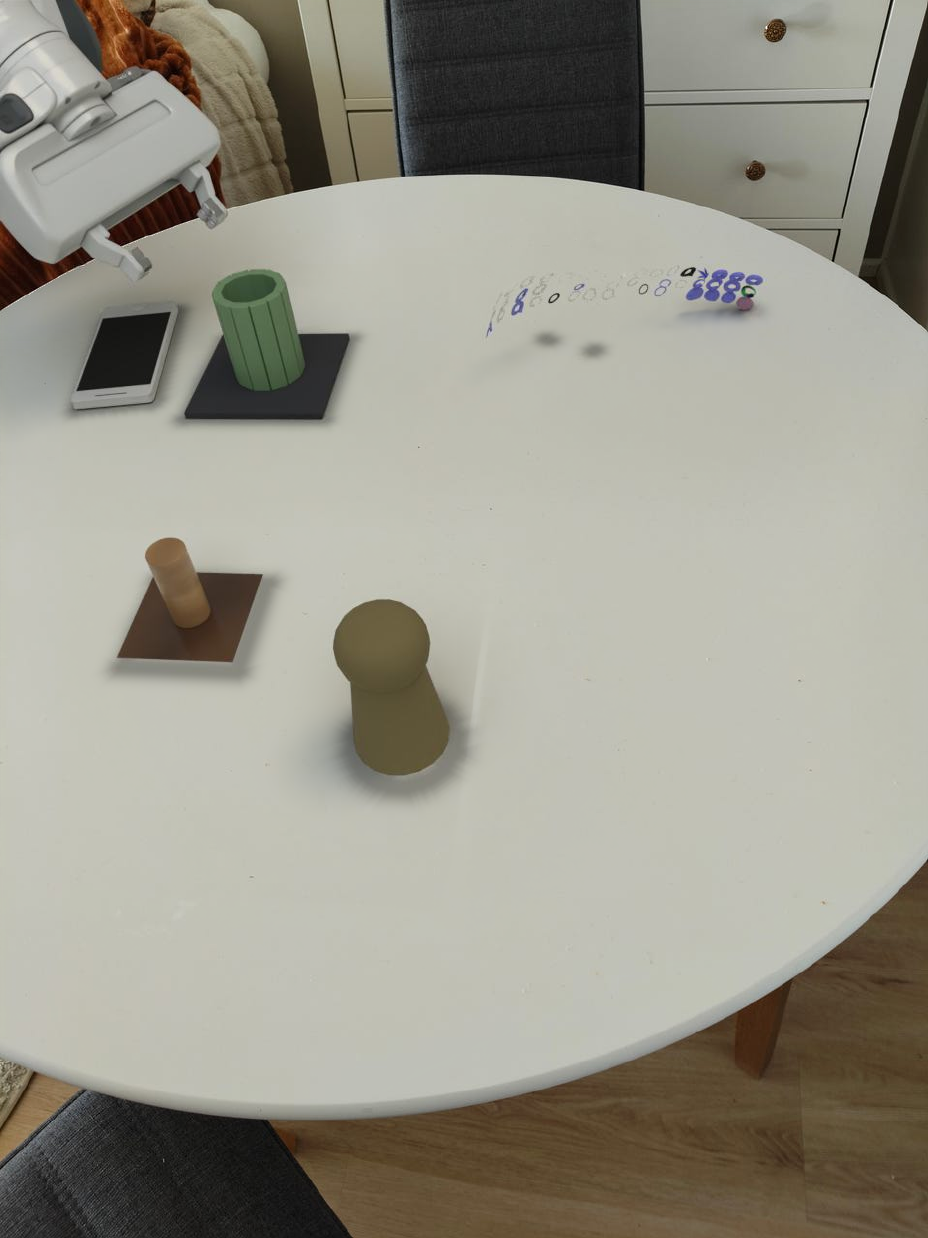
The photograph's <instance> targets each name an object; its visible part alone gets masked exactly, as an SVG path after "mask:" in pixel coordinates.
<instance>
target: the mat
mask: <svg viewBox="0 0 928 1238" xmlns="http://www.w3.org/2000/svg"><path fill="white" fill-rule="evenodd" d="M298 336H299V340H300V344H301V348H302V353H303V357H304V361H305V368H304V370H303V373H302V375H300V377H299V378H298V379H296V380H295V381H294V382H292V383H291V384H288V386H285V387H282V388H278V389H275V390H272V389H271V390H270V391H254V390H251V389H248V388H246V387H244V386H242V385H240V384H239V382H238V380H237V378H236V375H235V372H234V368H233V365H232V362H231V358H230V355H229V352H228V348H227V345H226V342H225V338H224V335H223V334H222V335H221V337H220V339H219V341H218V343H217V346H216V348H215V349H214V351H213V353H212V355H211V358H210V360H209V362H208V364H207V366H206V367H205V370H204V372H203V373H202V376H201V378H200V380H199V382H198V384H197V386H196V388H195V390H194V392H193V394H192V396H191V398H190V399H189V403H188V404H187V405H186V407H185V409H184V412H183V414H184V417H185V419H222V420H223V419H224V420H225V419H227V420H228V419H231V420H232V419H233V420H234V419H235V420H236V419H239V420H241V419H242V420H243V419H244V420H245V419H246V420H249V419H252V420H253V419H254V420H255V419H256V420H257V419H258V420H261V419H262V420H272V419H273V420H322V419H323V418H324V415H325V412H326V409H327V406H328V403H329V400H330V397H331V395H332V391H333V388H334V385H335V382H336V380H337V377H338V374H339V371H340V369H341V366H342V362H343V359H344V357H345V353H346V351H347V348H348V345H349V342H350V333H347V332H346V333H343V332H342V333H298Z"/></svg>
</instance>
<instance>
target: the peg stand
mask: <svg viewBox="0 0 928 1238" xmlns="http://www.w3.org/2000/svg"><path fill="white" fill-rule="evenodd" d="M144 559H145V561H146V564H147V566H148V568H149V570H150V573H151V575H152V578H151V580H150V583H149V585H148V586H147V589H146V591H145V593H144V595H143V598H142V600H141V602H140V605H139V606H138V609H137V611H136V613H135V616H134V618H133V620H132V622H131V624H130V627H129V629H128V631H127V633H126V636H125V638H124V640H123V642H122V645H121V647H120V649H119V651H118V653H117V656H116V658H117V659H136V660H164V661H167V660H168V661H185V662H188V661H190V662H211V663H212V662H213V663H234V659H235V657H236V653H237V651H238V648H239V646H240V642H241V640H242V637H243V633H244V631H245V628H246V624H247V622H248V620H249V616H250V614H251V610H252V608H253V605H254V602H255V599H256V596H257V593H258V591H259V588H260V585H261V582H262V579H263V576H264V574H263V573H240V572H239V573H238V572H237V573H234V572H233V573H232V572H203V571H202V572H201V571H200V572H197V571H196V568H195V566H194V564H193V561H192V559H191V556H190V554H189V551H188V548H187V546H186V543H185V542H184V541H183V540H182V539H180V538H178V537H163V538H160V539H158V540H155V541H153V543H151V544H150V545H149V546H148V547H147V548H146V550H145V552H144Z"/></svg>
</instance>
